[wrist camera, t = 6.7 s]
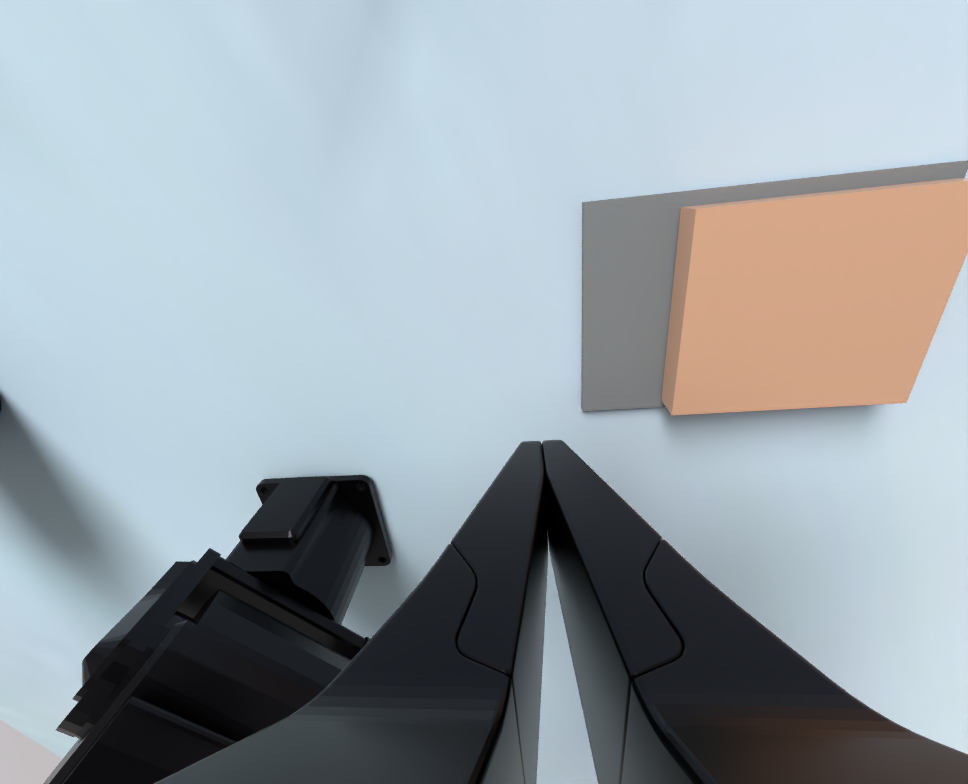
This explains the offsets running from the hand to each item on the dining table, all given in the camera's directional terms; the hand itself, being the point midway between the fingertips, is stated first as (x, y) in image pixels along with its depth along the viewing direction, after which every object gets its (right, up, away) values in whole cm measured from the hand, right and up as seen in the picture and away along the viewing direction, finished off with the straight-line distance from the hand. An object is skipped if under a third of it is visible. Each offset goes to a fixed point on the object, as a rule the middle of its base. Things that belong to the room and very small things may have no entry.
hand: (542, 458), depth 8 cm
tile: (+6, +4, +8) cm, 11 cm away
